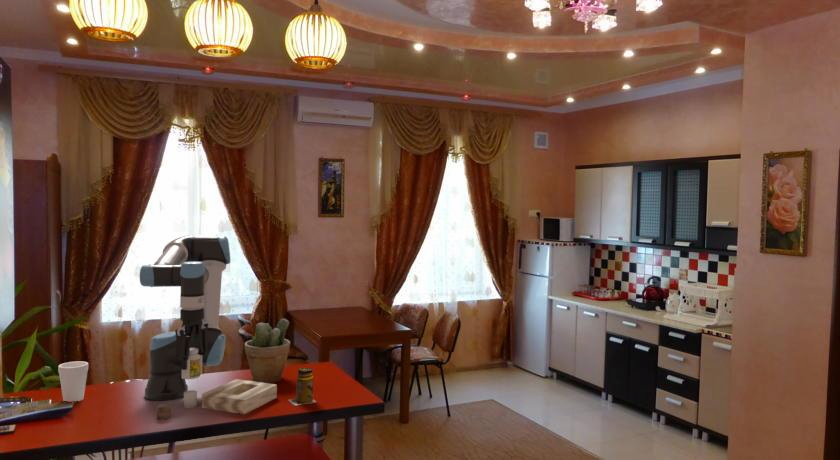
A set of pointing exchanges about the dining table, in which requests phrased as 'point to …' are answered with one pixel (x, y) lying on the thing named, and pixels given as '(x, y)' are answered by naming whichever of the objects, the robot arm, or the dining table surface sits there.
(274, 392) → the board
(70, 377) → the foam cup
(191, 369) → the supplement bottle
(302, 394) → the condiment
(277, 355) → the potted plant
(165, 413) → the walnut dowel short
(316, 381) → the dining table surface
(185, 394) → the pale grey block
